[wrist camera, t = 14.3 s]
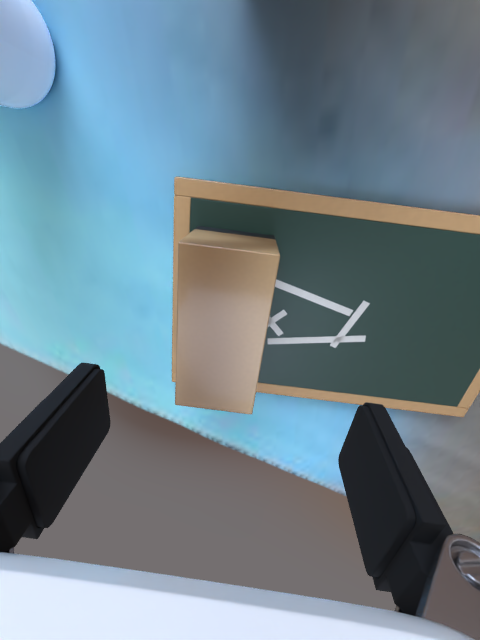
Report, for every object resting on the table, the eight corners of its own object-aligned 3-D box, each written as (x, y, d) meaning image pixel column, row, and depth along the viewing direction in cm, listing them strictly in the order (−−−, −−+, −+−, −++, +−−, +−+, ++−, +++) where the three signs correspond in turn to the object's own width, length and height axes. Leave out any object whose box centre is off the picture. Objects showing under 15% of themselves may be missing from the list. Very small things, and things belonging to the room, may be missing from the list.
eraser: (274, 235, 18) (280, 255, 13) (253, 367, 22) (251, 414, 18) (197, 225, 18) (178, 241, 13) (191, 359, 22) (174, 405, 18)
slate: (565, 226, 18) (582, 229, 17) (456, 409, 25) (464, 418, 24) (178, 176, 18) (173, 176, 17) (174, 374, 24) (171, 382, 23)
